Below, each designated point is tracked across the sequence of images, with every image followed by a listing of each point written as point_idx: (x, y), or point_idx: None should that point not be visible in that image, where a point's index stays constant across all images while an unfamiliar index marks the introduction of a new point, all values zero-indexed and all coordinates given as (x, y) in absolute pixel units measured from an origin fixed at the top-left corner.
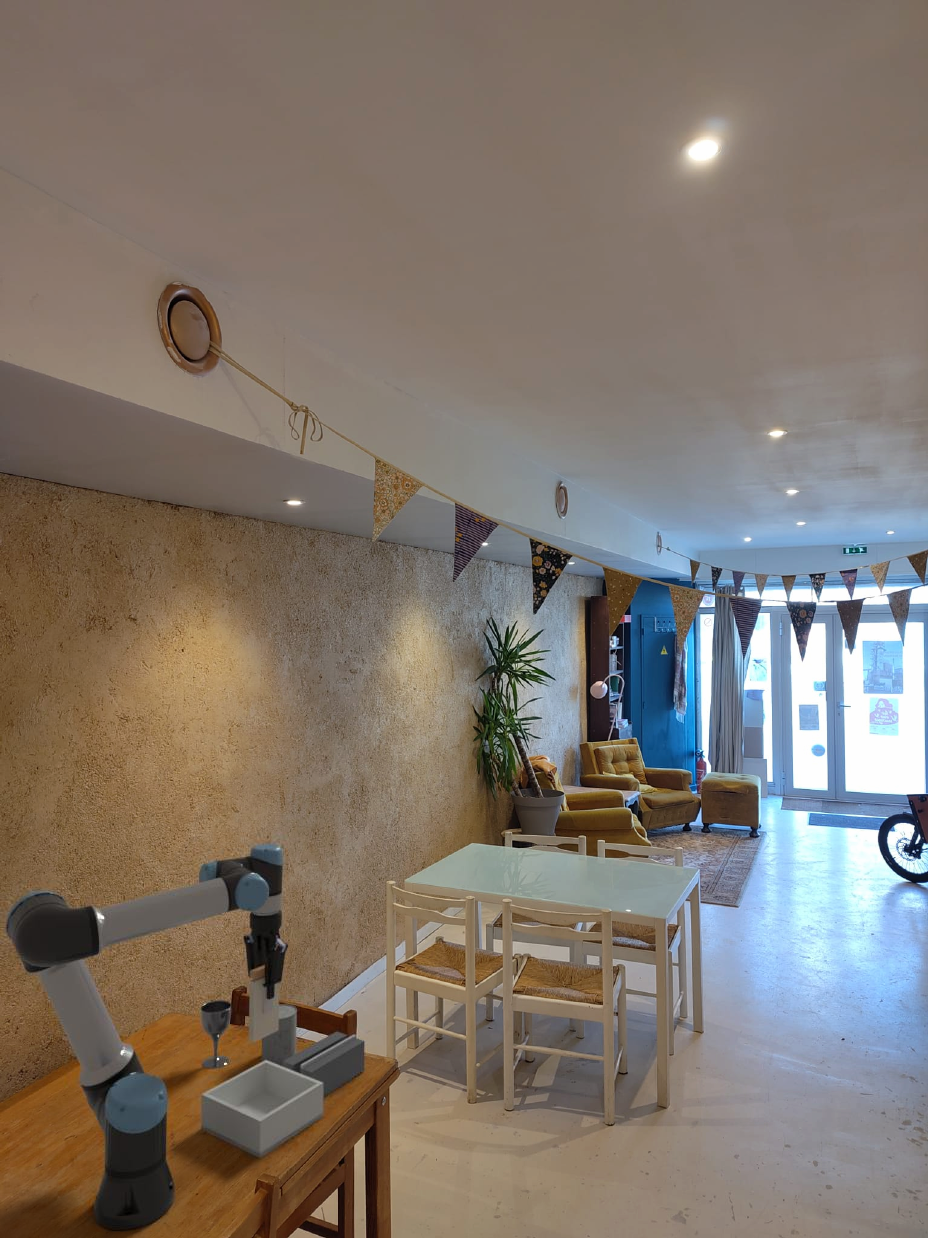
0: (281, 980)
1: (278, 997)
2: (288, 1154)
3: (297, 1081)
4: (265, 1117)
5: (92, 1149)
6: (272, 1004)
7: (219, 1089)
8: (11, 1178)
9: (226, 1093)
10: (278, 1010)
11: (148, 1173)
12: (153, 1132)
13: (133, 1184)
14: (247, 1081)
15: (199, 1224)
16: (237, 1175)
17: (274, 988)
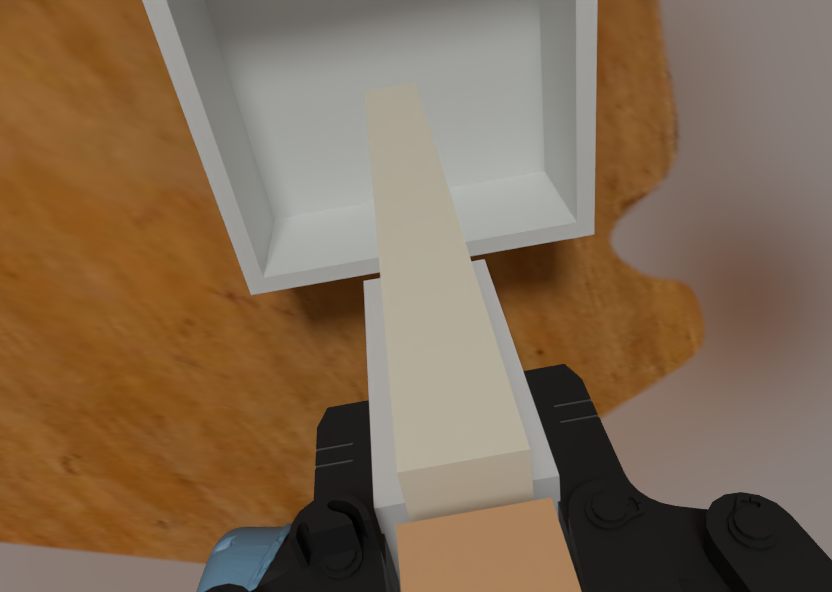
0: (790, 516)
1: (453, 210)
2: (617, 96)
3: None
4: (591, 209)
5: (168, 447)
6: (495, 296)
7: (246, 222)
8: (181, 560)
9: (238, 172)
10: (434, 146)
11: None
12: None
13: None
14: (197, 50)
15: (633, 386)
16: (564, 258)
17: (611, 447)
